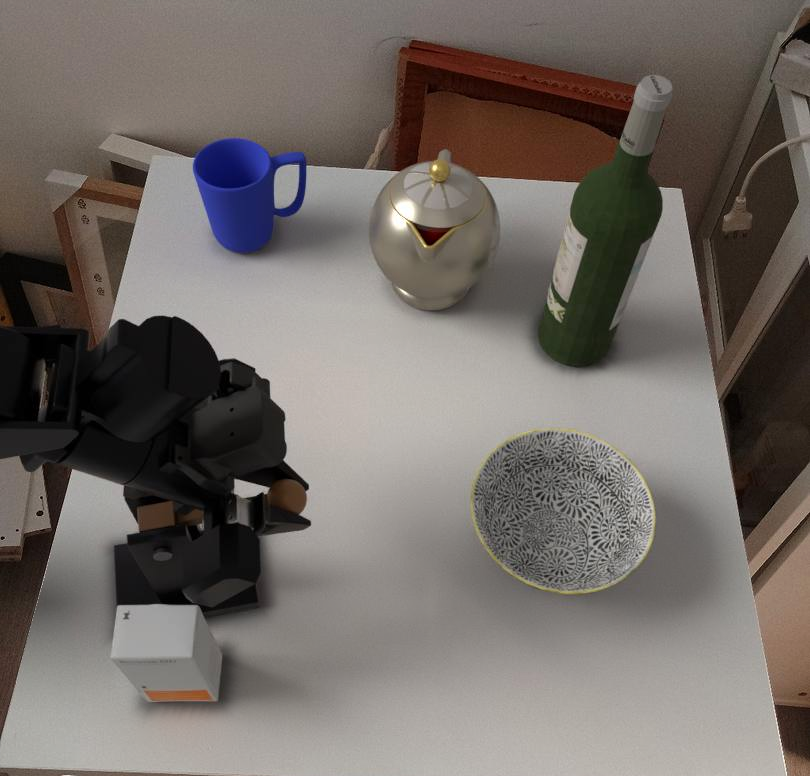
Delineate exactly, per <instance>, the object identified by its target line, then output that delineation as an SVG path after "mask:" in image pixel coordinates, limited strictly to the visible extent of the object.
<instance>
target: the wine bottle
mask: <svg viewBox="0 0 810 776" xmlns="http://www.w3.org/2000/svg"><path fill="white" fill-rule="evenodd" d="M672 98H673V84H672V82H671V81H670V80H669V79H668V78H666V77H664V76H662V75H659V74H658V75H657V74H650V75H646V76H644V77H643V78H642V79H641V80H640V82H639V83H638V84H637V86H636V88H635V91H634V95H633V102H632V105H631V107H630V108H631V109H630V111H629V114H628V116H627V120H626V121H625V124H624V127H623V131H622V133H621V137H620V139H619V141H618V145H617V148H616V151H615V153H614V157H613V159H612V161H611V162H609V163H605V164H603V165H600V166H597V167H595V168H594V169H593V170H591V171H589V172H588V173H587V174H585V176H584V177H582V179H581V180H580V182H579V183H578V185H577V187H576V188H575V190H574V193H573V196H572V200H571V204H570V208H569V212H568V215H567V218H566V222H565V226H564V229H563V230H564V231H563V235H562V238H561V242H560V245H559V248H558V252H557V256H556V260H555V264H554V268H553V272H552V276H551V279H550V283H549V287H548V290H547V294H546V298H545V302H544V306H543V309H542V313H541V317H540V321H539V324H538V330H537V338H538V341H539V345H540V347H541V349H542V350H543V351H544V353H545V354H546V355H547V356H549V358H551V359H552V360H553V361H555V362H558V363H560V364H562V365H565V366H570V367H576V368H579V367H588V366H591V365H593V364H595V363H598V362H600V360H601V359H603V358H604V357H605V356H606V355H607V353H608V352H609V350H610V347H611V345H612V343H613V341H614V340H613V339H614V338H615V336H616V333H617V330H618V328H619V325H620V323H621V320H622V318H623V315H624V313H625V309H626V307H627V304H628V302H629V300H630V297H631V294H632V292H633V289H634V287H635V285H636V282H637V280H638V277H639V274H640V271H641V269H642V266H643V264H644V261H645V260H646V259H645V258H646V256H647V254H648V251H649V248H650V246H651V243H652V241H653V238H654V235H655V232H656V230H657V228H658V225H659V223H660V220H661V217H662V215H663V208H664V206H663V205H664V200H663V195H662V191H661V189H660V186H659V185H658V183H657V181H656V179H655V178H654V177H653V176H652V175H651V173H650V172H649V167H650V164H651V160H652V157H653V153H654V150H655V147H656V144H657V140H658V137H659V134H660V131H661V129H662V128H661V127H662V124H663V121H664V117H665V115H666V112H667V108H668V107H669V105H670V103H671V100H672Z"/></svg>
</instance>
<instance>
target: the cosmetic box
mask: <svg viewBox="0 0 810 776" xmlns="http://www.w3.org/2000/svg"><path fill="white" fill-rule="evenodd" d="M109 657H110V660H111V661H112V663H114V664H115V666H116V667H117V668H118V669H119V670H120V672H122V674H123V675H124V676H125V677H126V678H127V680H128V681H129V682H130V683H131V685H132V686H133V687H134V688H135V689H136V690H137V691H138V692H139V694H141V696H142V697H143V698H144V699H145V701H146V702H148V703H157V702H158V703H159V702H160V703H163V702H164V703H166V702H218V701H219V695H220V685H221V684H220V683H221V673H222V665H223V664H222V662H223V653H222V650H221V649H220V647H219V645H218V642H217V641H216V639H215V637H214V634H213V633H212V630H211V628H210V627H209V624H208V622H207V620H206V617H204V616H203V614H202V611H201V609H200V607H199V606H198V605H165V604H152V605H118V606H117V605H116V612H115V620H114V629H113V635H112V642H111V650H110V655H109Z"/></svg>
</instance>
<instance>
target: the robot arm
mask: <svg viewBox="0 0 810 776" xmlns="http://www.w3.org/2000/svg"><path fill="white" fill-rule="evenodd" d="M90 340H91V332H90V331H89V330H88V329H86V328H72V327H62V325H60V324H55V325H44V326H43V325H42V326H11V325H9V326H8V325H6V326H5V325H0V460H5V459H11V458H16V457H19V459H20V460H19V461H20V463H21V465H22V467H23V470H24V471H26V472H27V473H34V472H36V471H37V470H38V469H40V468H41V467H42V466H43V465H44V464H45V463H46V462H49V463H52V464H55V465H58V466H62V467H64V468H68V469H71V470H74V471H77V472H80V473H84V474H86V475H89V476H92V477H95V478H99V479H102V480H105V481H107V482H112V483H115V484H117V485H120V486H123V488H122V489H123V490H122V497H123V498H124V497H127V498H130V499H133V500H137V499H138V498H140V497H141V496H142V495H144V494H145V493H148V494H151V495H154V496H157V497H161V498H164V499H167V500H170V501H173V502H174V512H175V513H178V514H181V515H185V516H186V515H188V514H189V513H191V512H192V511H194V510H195V509H198V510H202V524H201V530H204V535H202V536H201V537H199V538H197V539H196V540H194V541H193V542H191V543H190V544H188V545H187V546H185V547H183V579H182V591H183V593H184V595H185V597H186V598H187V599H189V600H190V601H191V602H193V603H195V604H200V605H204V606H208V607H214V606H216V605H217V604H219V603H221V602H223V601H225V600H226V599H228V598H230V597H232V596H234V595H236V594H237V593H239V592H241V591H243V590H245V589H246V588H248V587H250V586H252V585H254V584H255V583H258V580H259V578H260V575H261V573H262V572H261V570H262V569H261V539H260V537H265V536H271V535H278V534H279V535H280V534H285V533H293V532H299V531H304V530H306V529H308V528H310V527H311V526H312V521H311V520H310V519H309V518H307V517H304V516H303V515H301V514H299V515H298V514H296V513H293V512H290V511H287V510H284V509H281V508H278V507H275V506H272V505H269V504H268V503H267V501H266V498H265V495H264V494H265V492H264V491H261V492H260V493H258V494H256V495H254V496H255V497H253V498H252V499H250V500H248V499H245V498H246V497H242V496H239V494H237V493H235V489H236V488H235V487H236V486H235V480H237V481H242V482H246V483H249V484H253V485H257V486H260V487H261V486H262V487H265V488H268V489H269V488H270V487H271V485H272V484H274V483H275V482H276V481H278V480H281V479H292V480H295V481H297V482H298V483H300V484H301V485H302V486H303V488H304V489H305V491H306V492H307V491H309V490H310V484H309V483H308V482H307V481H306V480H305V479H304V478H303V477H302V476H301V475H300V474H299V473H297V471H296V470H295V469H293V468H292V467H291V466H290V465H289V464H288V463H287V462H286V460H285V458H286V456H287V451H288V445H287V442H286V433H285V431H286V430H285V429H286V428H285V422H286V412H285V411H284V409H282V408H281V406H279V405H278V404H277V402H275V401H274V400H273V399H272V398H271V381H270V380H269V379H268V378H266V377H261V376H260V375H259V374H258V373H257V372H256V368H255V367H254V366H251V365H250V364H248V363H245V362H243V361H241V360H239V359H237V358H236V357H231V358H222V359H219V358H218V355H217V353H216V350H215V349H214V347H213V346H212V344H211V343H210V341H209V340H208V338H207V337H206V336H205V335H204V334H203V333H202V332H201V331H200V330H199V329H198V328H197V327H195V326H194V325H193V324H191V323H190V322H188V321H187V320H185V319H183V318H181V317H179V316H177V315H173V316H168V315H163V314H162V315H152V316H150V317H148V318H146V319H145V320H143V322H141V323H140V324H139V325H137V324H135V323H133V322H132V321H129V320H127V319H126V318H119V319H117V320H115V322H114V323H113V324H112V325H111V326H110V327H109V328H108V330H107V332H106V334H105V336H104V337H103V338H102V340H101V341H99V342H98V344H97V345H96V346H94V348H92V349H91V350H89V349H90ZM52 360H53V361H52ZM47 361H52V370H51V377H50V383H49V390H48V399H47V402H46V403H45V404H44V405H43V406H42V407H41V402H42V401H41V400H42V393H43V387H44V381H45V380H44V379H45V373H46V362H47Z"/></svg>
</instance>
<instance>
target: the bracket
mask: <svg viewBox="0 0 810 776" xmlns="http://www.w3.org/2000/svg"><path fill="white" fill-rule="evenodd" d="M123 498H124V501H125V503H126V505H127V507H128V509H129V511H130V512H131V515H132V516H133V518H134V520H135V521H136V524H137V525H138V513H137V507H141V506H147V505H152V504H157V503H163V502H168V501H170V500H167V499H164V498H161V497H157V496H154V495H151V494H148V493H145V494H144V495H142V496H141V497H140V498H138V499H137V500H133V499H130V498H127V497H124V496H123ZM200 525H201V524H198V525H193V526H188V527H186V525H180V526H174V527H169V528H163V529H157V530H151V531H145V532H139V531H138V532H134V533H127V534H126V543H120V544H113V558H114V578H115V579H114V580H115V601H116V607H117V606H118V605H152V604H165V605H198V606H199V607H200V609H201V611H202V614H203V616H204V618H208V617H213V616H220V615H224V614H230V613H236V612H240V611H241V612H242V611H246V610H247V611H248V610H251V609H257V608H260V605H261V604H260V599H259V598H260V597H259V591H258V584H257V583H258V582H256V583H255V584H254V585H252V586H250V587H248V588H246V589H245V590H243V591H241V592H239V593H237V594H236V595H234V596H232V597H230V598H228V599H226V600H225V601H223V602H221V603H219V604H217V605H216V606H214V607H208V606H204V605H200V604H195V603H193V602H191V601H190V600H189V599H187V598H186V597H185V595H184V593H183V591H182V579H183V547H185V546H187V545H188V544H190V543H191V542H193V541H194V540H196V539H197V538H199V537H201V536H202V535H204V530H203V529H202V527H201V526H200Z"/></svg>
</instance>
